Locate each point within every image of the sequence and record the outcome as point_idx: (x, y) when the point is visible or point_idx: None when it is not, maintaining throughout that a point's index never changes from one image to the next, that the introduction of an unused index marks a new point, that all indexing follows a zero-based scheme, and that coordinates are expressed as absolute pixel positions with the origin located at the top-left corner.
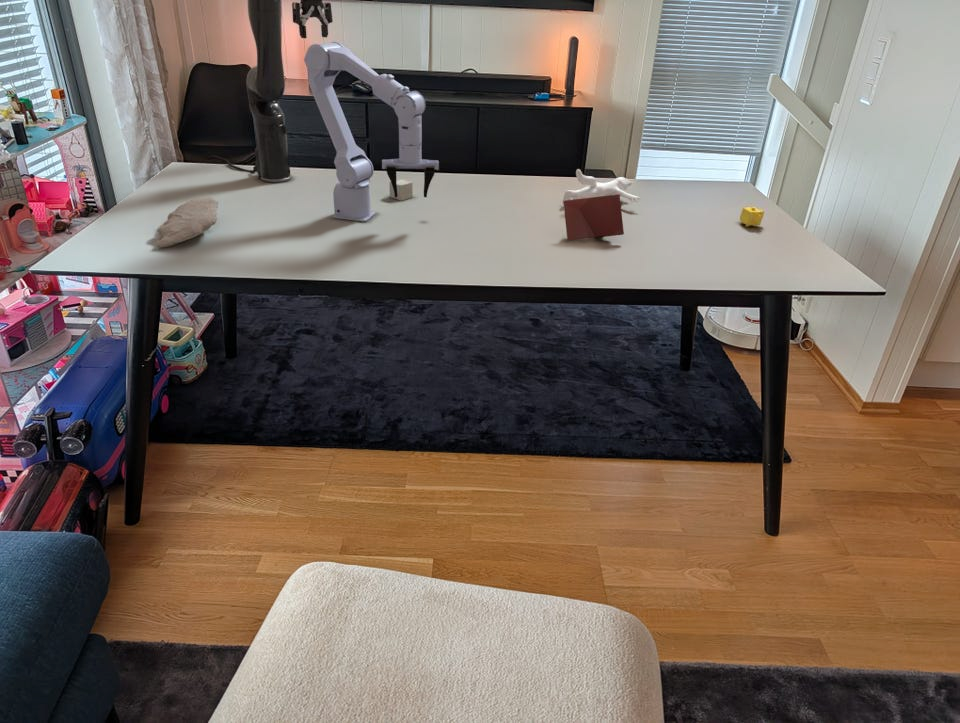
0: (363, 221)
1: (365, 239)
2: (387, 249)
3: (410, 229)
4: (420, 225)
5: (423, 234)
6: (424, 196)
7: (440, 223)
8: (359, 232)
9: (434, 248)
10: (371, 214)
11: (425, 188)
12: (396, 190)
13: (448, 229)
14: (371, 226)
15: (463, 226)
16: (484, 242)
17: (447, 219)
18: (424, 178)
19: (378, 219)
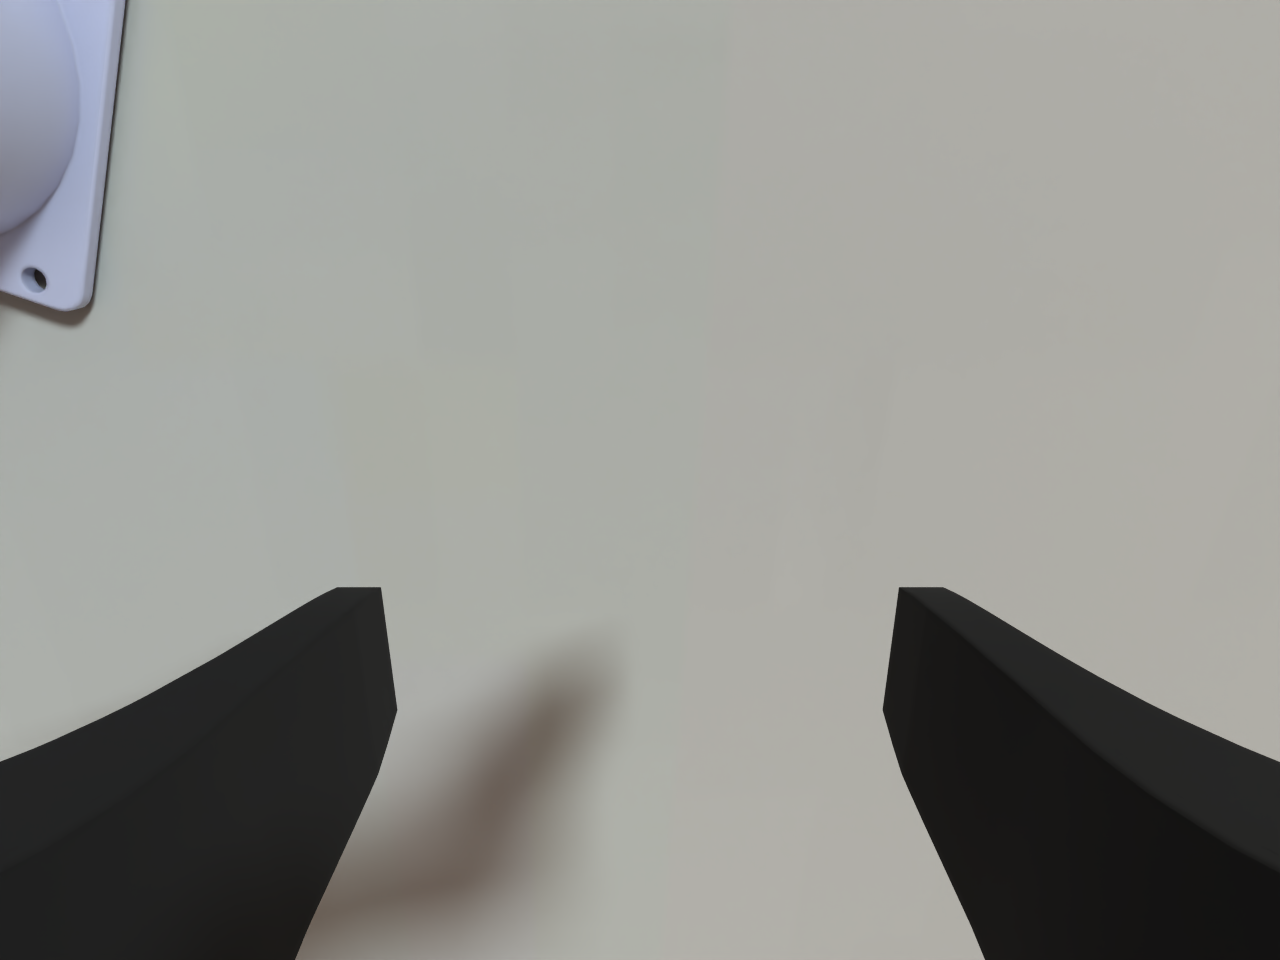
0: (60, 306)
1: None
2: (437, 956)
3: (632, 533)
4: (753, 408)
5: (756, 667)
6: (894, 725)
7: (1005, 336)
8: (116, 615)
9: (810, 944)
10: (89, 51)
11: (966, 882)
12: (339, 834)
13: (1044, 533)
14: (196, 442)
15: (1247, 440)
16: None
17: (1138, 174)
18: (1087, 830)
19: (227, 181)
